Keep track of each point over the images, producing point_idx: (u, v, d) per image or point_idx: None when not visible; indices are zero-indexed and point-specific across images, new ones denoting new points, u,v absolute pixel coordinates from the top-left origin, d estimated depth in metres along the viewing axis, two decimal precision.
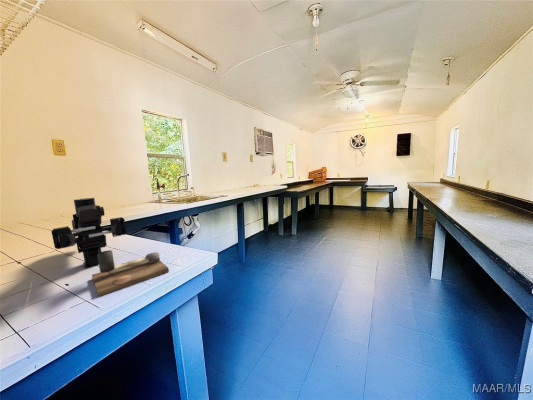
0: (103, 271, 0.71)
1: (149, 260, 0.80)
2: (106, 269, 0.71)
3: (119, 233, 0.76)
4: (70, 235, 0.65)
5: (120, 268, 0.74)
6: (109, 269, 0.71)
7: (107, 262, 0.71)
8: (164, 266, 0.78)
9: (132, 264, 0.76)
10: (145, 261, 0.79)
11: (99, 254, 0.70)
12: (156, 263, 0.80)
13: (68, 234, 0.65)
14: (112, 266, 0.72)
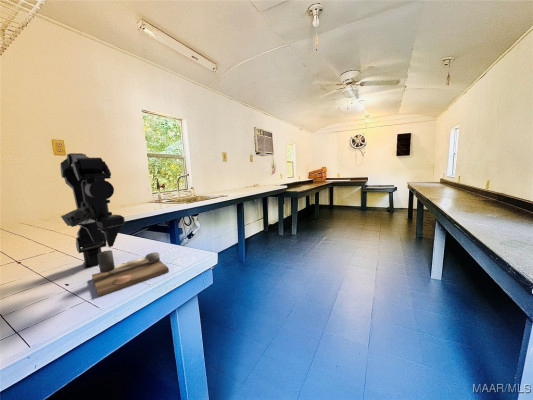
0: (103, 271, 0.71)
1: (149, 260, 0.80)
2: (106, 269, 0.71)
3: None
4: (89, 233, 0.72)
5: (120, 268, 0.74)
6: (109, 269, 0.71)
7: (107, 262, 0.71)
8: (164, 266, 0.78)
9: (132, 264, 0.76)
10: (145, 261, 0.79)
11: (99, 254, 0.70)
12: (156, 263, 0.80)
13: (87, 230, 0.72)
14: (112, 266, 0.72)
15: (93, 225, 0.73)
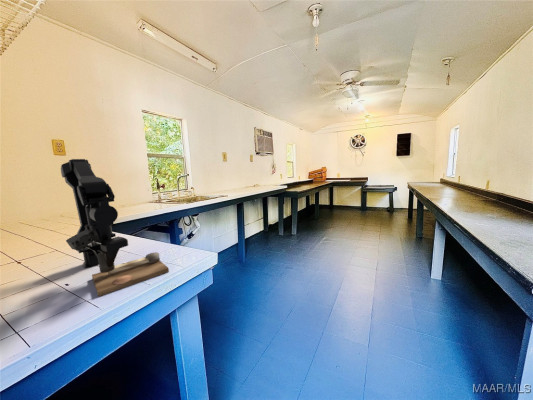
0: (103, 271, 0.71)
1: (149, 260, 0.80)
2: (106, 269, 0.71)
3: None
4: (96, 255, 0.72)
5: (120, 268, 0.74)
6: (109, 269, 0.71)
7: None
8: (164, 266, 0.78)
9: (132, 264, 0.76)
10: (145, 261, 0.79)
11: (99, 254, 0.70)
12: (156, 263, 0.80)
13: (94, 252, 0.72)
14: (112, 266, 0.72)
15: (101, 246, 0.73)
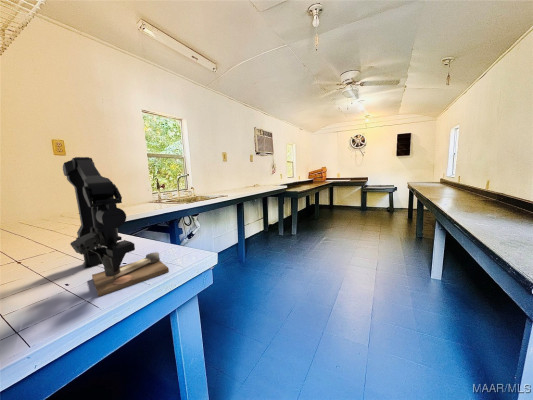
0: (111, 275, 0.68)
1: (151, 260, 0.80)
2: (114, 272, 0.68)
3: None
4: (100, 258, 0.69)
5: (126, 270, 0.72)
6: (117, 272, 0.69)
7: None
8: (164, 266, 0.78)
9: (136, 265, 0.75)
10: (147, 261, 0.79)
11: (105, 257, 0.67)
12: (156, 263, 0.80)
13: (98, 255, 0.69)
14: (119, 269, 0.70)
15: (105, 249, 0.70)
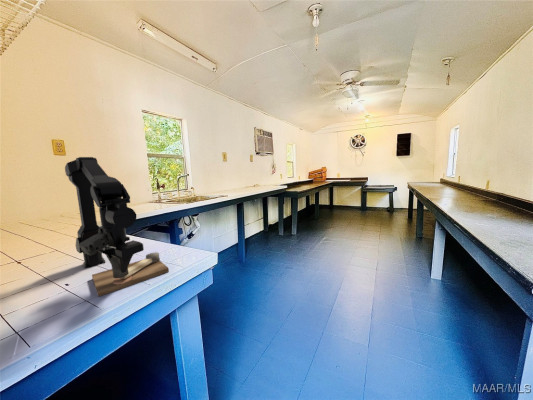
0: (121, 276, 0.67)
1: (153, 260, 0.80)
2: (124, 273, 0.68)
3: None
4: (109, 259, 0.68)
5: (133, 271, 0.72)
6: (126, 273, 0.68)
7: None
8: (164, 266, 0.78)
9: (141, 265, 0.75)
10: (150, 261, 0.79)
11: (115, 259, 0.66)
12: (156, 263, 0.80)
13: (107, 256, 0.68)
14: (127, 269, 0.69)
15: (114, 250, 0.69)
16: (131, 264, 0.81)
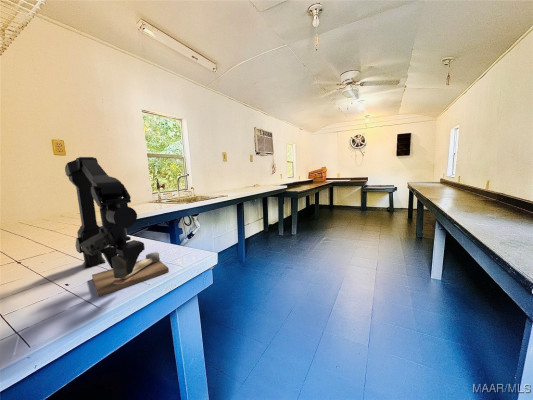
0: (122, 276, 0.67)
1: (153, 260, 0.80)
2: (125, 273, 0.68)
3: None
4: (106, 258, 0.69)
5: (133, 271, 0.72)
6: None
7: None
8: (164, 266, 0.78)
9: (141, 265, 0.75)
10: (150, 261, 0.79)
11: (116, 259, 0.66)
12: (156, 263, 0.80)
13: (104, 255, 0.69)
14: None
15: (111, 249, 0.70)
16: None
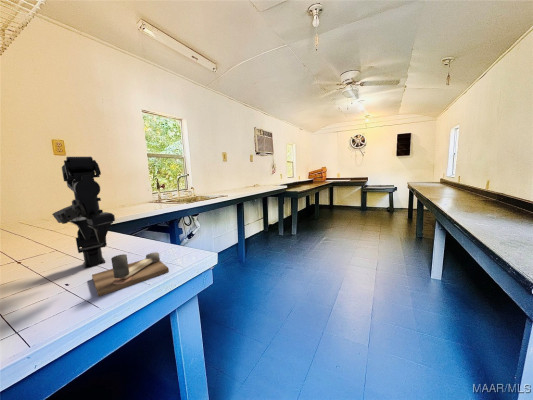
0: (122, 276, 0.67)
1: (153, 260, 0.80)
2: (125, 273, 0.68)
3: (109, 223, 0.71)
4: (80, 230, 0.74)
5: (133, 271, 0.72)
6: (127, 273, 0.68)
7: (125, 265, 0.68)
8: (164, 266, 0.78)
9: (141, 265, 0.75)
10: (150, 261, 0.79)
11: (116, 259, 0.66)
12: (156, 263, 0.80)
13: (78, 227, 0.74)
14: (128, 269, 0.69)
15: (85, 222, 0.75)
16: (131, 264, 0.81)
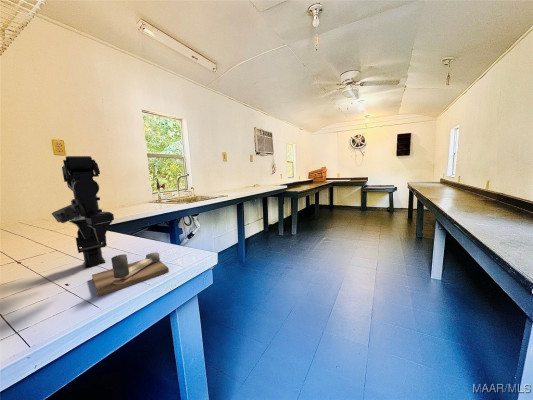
0: (122, 276, 0.67)
1: (153, 260, 0.80)
2: (125, 273, 0.68)
3: (108, 222, 0.71)
4: (79, 229, 0.74)
5: (133, 271, 0.72)
6: (127, 273, 0.68)
7: (125, 265, 0.68)
8: (164, 266, 0.78)
9: (141, 265, 0.75)
10: (150, 261, 0.79)
11: (116, 259, 0.66)
12: (156, 263, 0.80)
13: (78, 227, 0.74)
14: (128, 269, 0.69)
15: (84, 221, 0.75)
16: (131, 264, 0.81)
